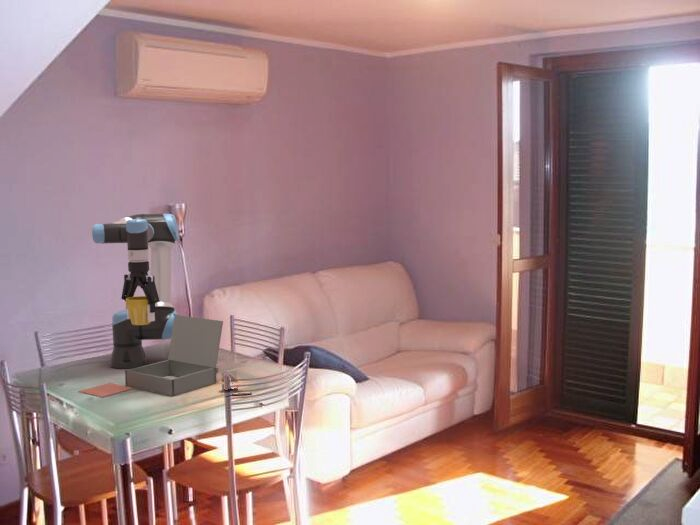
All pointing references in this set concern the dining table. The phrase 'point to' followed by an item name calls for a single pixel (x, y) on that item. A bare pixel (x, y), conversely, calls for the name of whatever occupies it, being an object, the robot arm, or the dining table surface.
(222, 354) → the dining table surface
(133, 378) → the case
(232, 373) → the architectural model
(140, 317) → the plant pot
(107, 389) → the mat
